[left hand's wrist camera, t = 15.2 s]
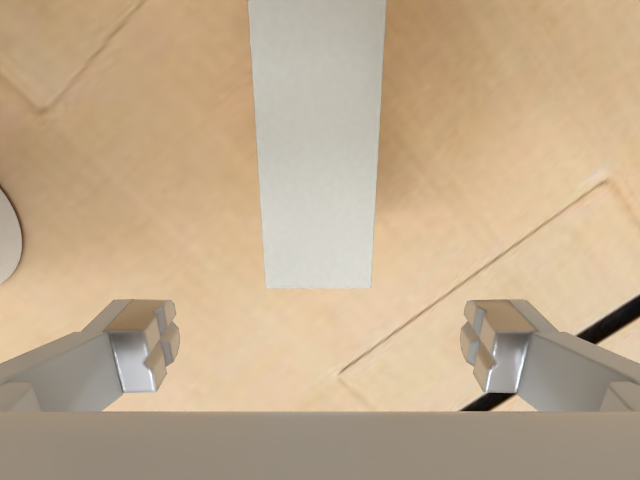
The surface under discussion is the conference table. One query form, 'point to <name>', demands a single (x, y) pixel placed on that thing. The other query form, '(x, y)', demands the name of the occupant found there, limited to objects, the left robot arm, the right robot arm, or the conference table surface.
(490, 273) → the conference table surface
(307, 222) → the box
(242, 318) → the conference table surface
